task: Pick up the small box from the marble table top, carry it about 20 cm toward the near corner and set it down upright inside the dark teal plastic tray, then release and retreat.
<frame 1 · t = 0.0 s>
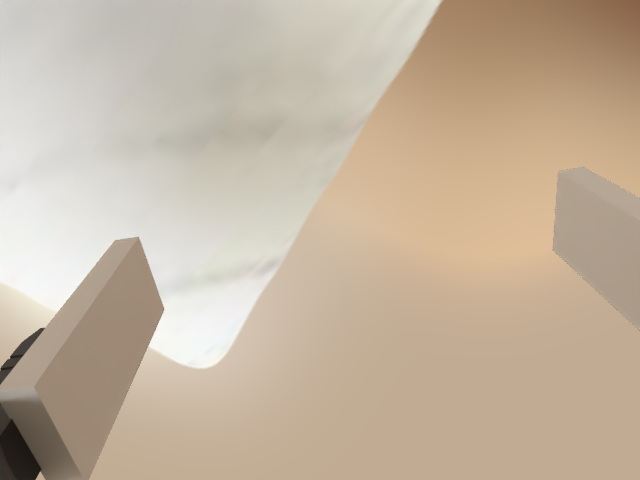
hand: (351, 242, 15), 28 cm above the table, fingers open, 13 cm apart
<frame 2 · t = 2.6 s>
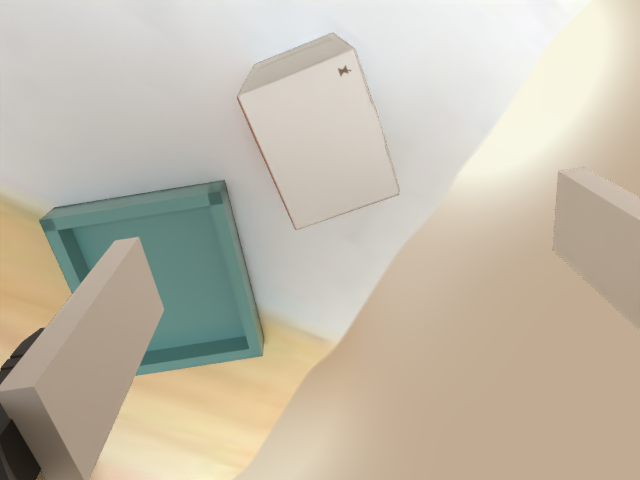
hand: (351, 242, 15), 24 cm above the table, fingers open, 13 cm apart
tray: (167, 278, 42), on the table
small box: (312, 100, 36), on the table
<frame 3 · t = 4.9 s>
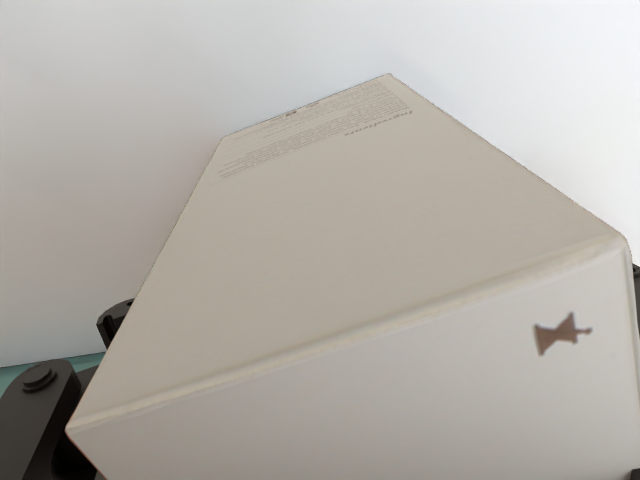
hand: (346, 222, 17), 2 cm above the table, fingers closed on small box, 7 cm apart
small box: (341, 203, 18), on the table, touching gripper
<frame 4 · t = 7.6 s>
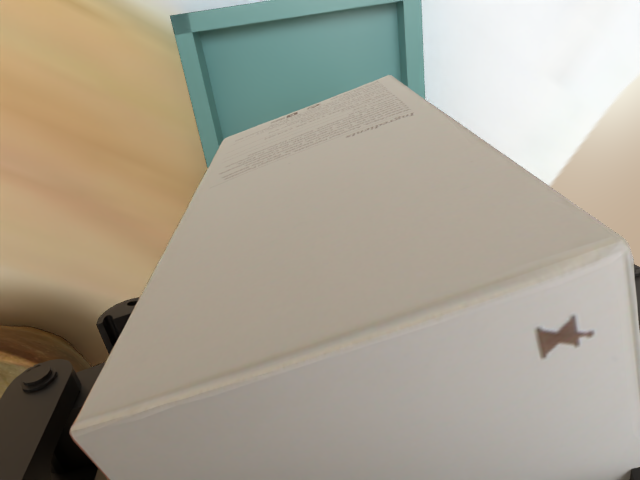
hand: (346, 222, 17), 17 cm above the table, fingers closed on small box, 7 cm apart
tray: (313, 129, 32), on the table
small box: (341, 204, 18), point 15 cm above the table, touching gripper
bowl: (36, 373, 40), on the table
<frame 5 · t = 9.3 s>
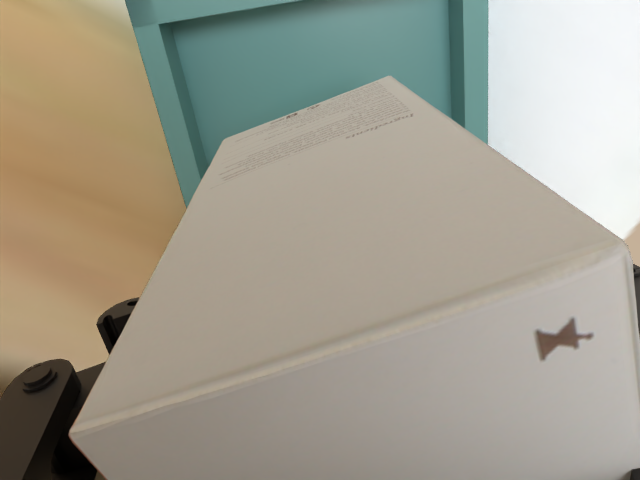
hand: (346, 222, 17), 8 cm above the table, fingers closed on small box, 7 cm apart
tray: (330, 154, 24), on the table
small box: (341, 204, 18), point 6 cm above the table, touching gripper
when the fingers open (4 cm above the table, at t = 10.5 s): small box drops 2 cm, resting on tray.
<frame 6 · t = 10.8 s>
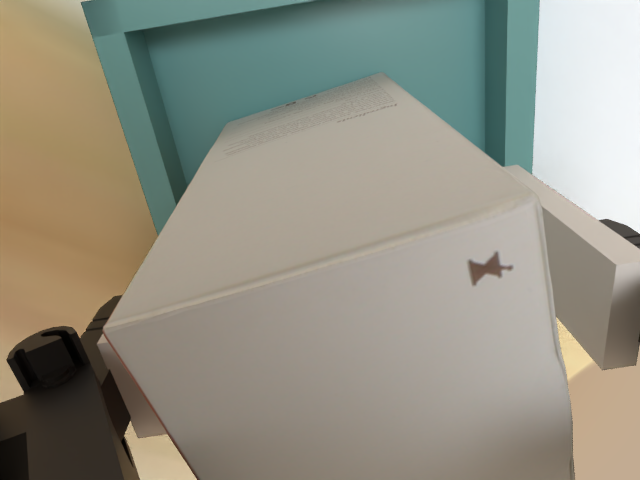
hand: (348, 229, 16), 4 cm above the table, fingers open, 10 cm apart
tray: (337, 185, 20), on the table
small box: (332, 190, 20), resting on tray
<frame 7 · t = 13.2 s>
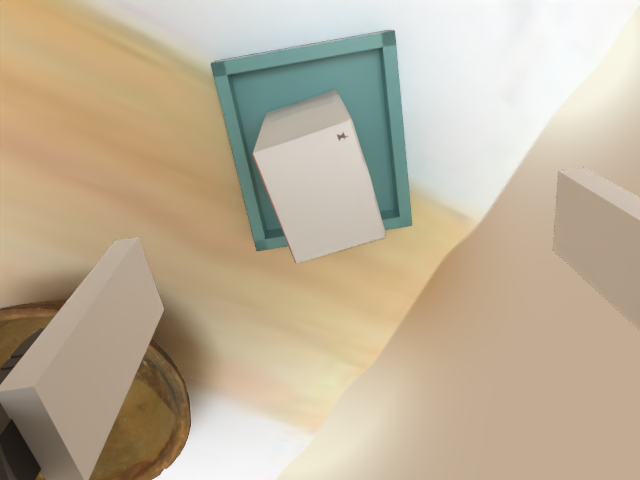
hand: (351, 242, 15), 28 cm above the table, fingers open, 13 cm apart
tray: (318, 143, 42), on the table
small box: (315, 145, 41), resting on tray
bowl: (98, 345, 50), on the table
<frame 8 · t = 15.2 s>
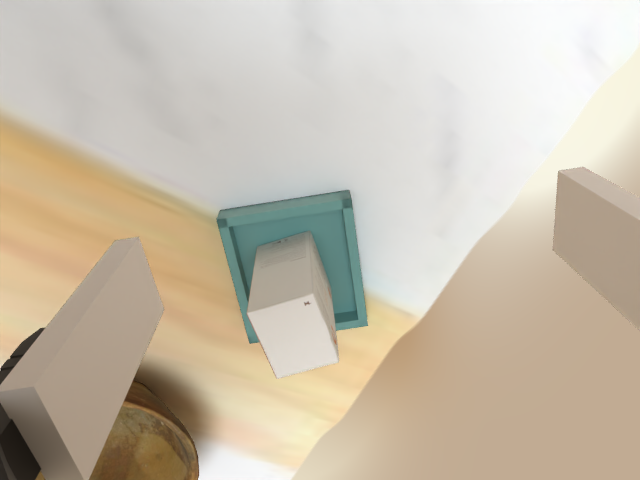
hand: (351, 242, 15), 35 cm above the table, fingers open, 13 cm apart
tray: (296, 264, 55), on the table
small box: (294, 266, 54), resting on tray
bowl: (124, 405, 63), on the table
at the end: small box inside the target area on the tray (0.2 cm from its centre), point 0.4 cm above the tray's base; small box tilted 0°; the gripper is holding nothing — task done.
